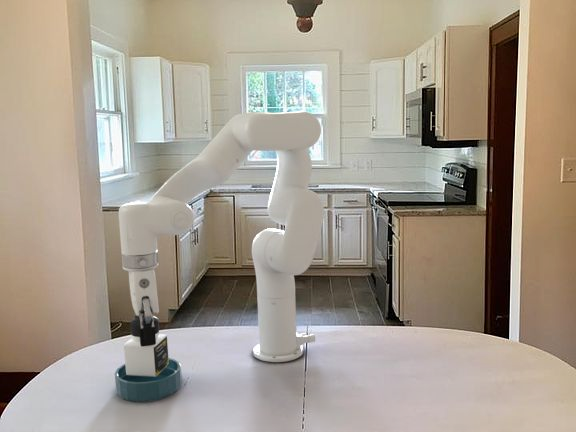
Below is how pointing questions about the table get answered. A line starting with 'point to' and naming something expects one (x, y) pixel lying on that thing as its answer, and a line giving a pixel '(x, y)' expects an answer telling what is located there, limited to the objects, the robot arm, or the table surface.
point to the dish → (149, 383)
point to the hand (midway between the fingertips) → (145, 338)
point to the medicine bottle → (145, 352)
